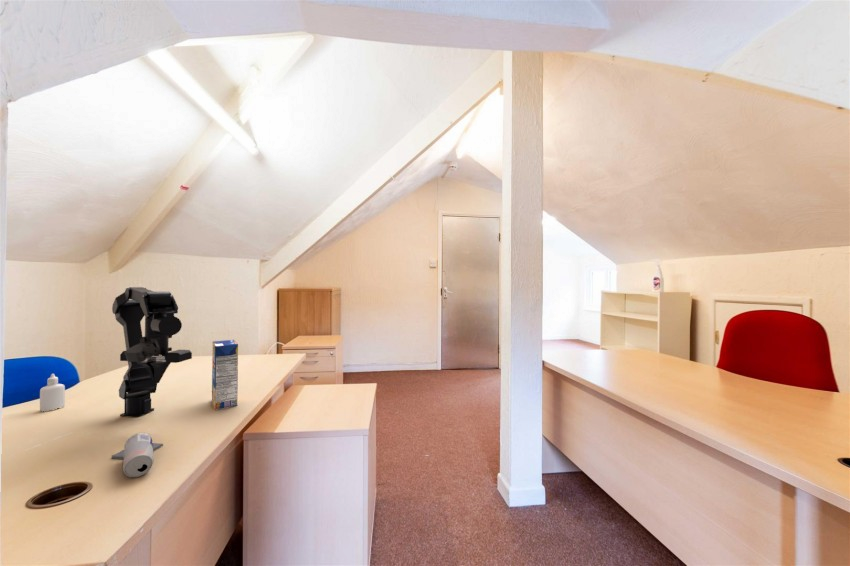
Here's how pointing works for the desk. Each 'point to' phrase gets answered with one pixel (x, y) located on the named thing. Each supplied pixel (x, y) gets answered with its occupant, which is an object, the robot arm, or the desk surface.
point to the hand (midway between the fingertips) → (156, 383)
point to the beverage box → (224, 374)
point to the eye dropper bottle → (52, 395)
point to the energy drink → (138, 455)
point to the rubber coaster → (121, 454)
